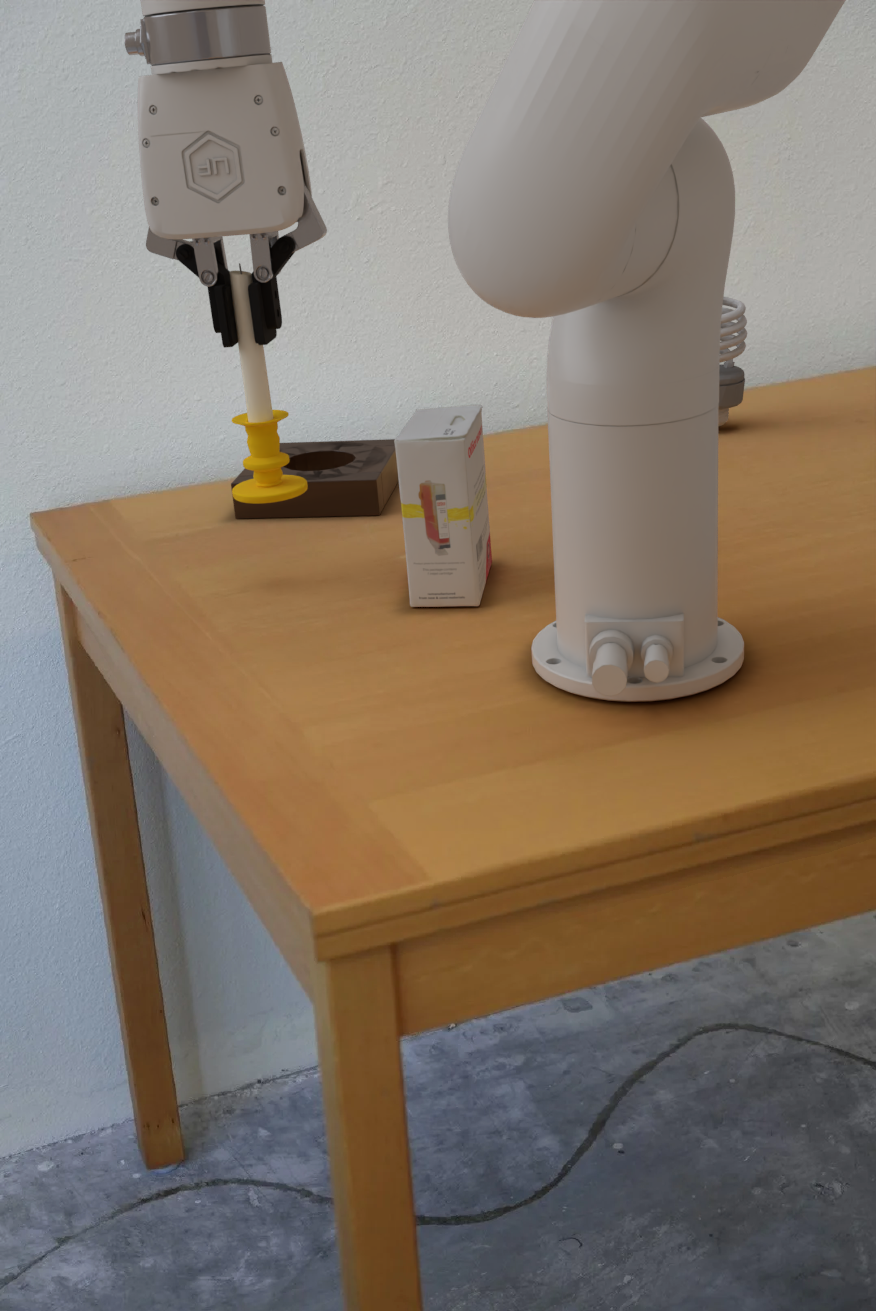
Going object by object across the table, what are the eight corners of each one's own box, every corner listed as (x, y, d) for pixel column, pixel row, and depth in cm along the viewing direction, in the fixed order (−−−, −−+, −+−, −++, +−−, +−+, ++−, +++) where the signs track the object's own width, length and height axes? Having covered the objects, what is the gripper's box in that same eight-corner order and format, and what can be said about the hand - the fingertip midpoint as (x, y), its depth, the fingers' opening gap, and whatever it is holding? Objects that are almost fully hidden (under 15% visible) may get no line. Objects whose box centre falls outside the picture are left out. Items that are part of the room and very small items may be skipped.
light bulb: (711, 417, 138) (711, 287, 134) (758, 426, 134) (761, 293, 130) (670, 430, 135) (669, 297, 131) (717, 440, 131) (718, 303, 126)
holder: (379, 515, 118) (376, 479, 117) (235, 518, 120) (230, 483, 119) (404, 472, 129) (401, 438, 128) (271, 475, 131) (267, 443, 130)
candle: (313, 479, 104) (285, 254, 98) (301, 501, 100) (271, 265, 94) (241, 484, 105) (208, 260, 99) (225, 506, 100) (190, 272, 94)
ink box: (427, 564, 107) (414, 404, 102) (494, 563, 106) (484, 401, 101) (406, 609, 99) (391, 437, 94) (479, 608, 98) (467, 435, 94)
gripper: (66, 57, 89) (119, 361, 96) (319, 32, 87) (354, 346, 94) (109, 55, 96) (156, 338, 103) (344, 31, 93) (376, 324, 100)
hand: (250, 340), depth 98 cm, fingers closed on candle, 1 cm apart
